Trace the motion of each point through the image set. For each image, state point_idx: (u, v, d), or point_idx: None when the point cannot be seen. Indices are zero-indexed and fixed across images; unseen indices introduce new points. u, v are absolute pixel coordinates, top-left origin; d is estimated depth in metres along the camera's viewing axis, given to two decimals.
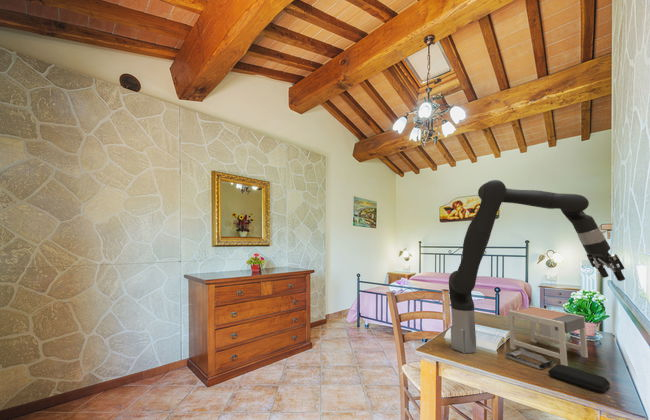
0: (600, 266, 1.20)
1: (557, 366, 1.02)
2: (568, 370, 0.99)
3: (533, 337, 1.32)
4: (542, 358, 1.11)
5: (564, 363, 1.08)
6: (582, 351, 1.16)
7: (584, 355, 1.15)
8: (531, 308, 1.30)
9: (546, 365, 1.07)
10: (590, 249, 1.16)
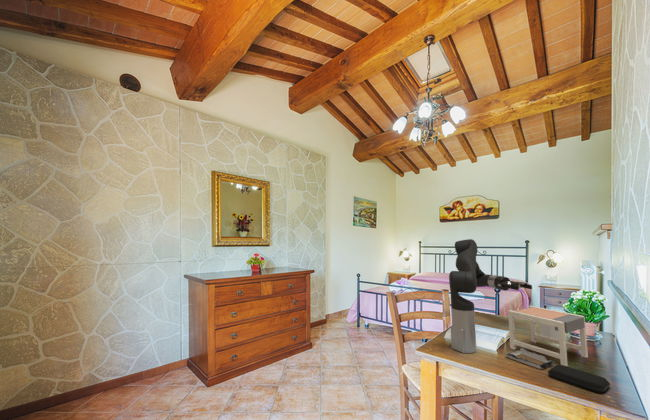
0: None
1: (557, 366, 1.02)
2: (568, 370, 0.99)
3: (533, 337, 1.32)
4: (543, 358, 1.12)
5: (564, 363, 1.08)
6: (582, 351, 1.16)
7: (584, 355, 1.15)
8: (531, 308, 1.30)
9: (547, 365, 1.07)
10: None
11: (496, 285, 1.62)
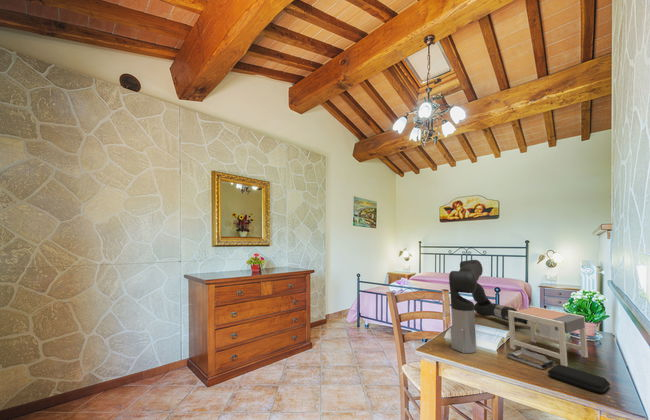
0: None
1: (557, 366, 1.02)
2: (568, 371, 0.98)
3: (533, 337, 1.32)
4: (544, 358, 1.12)
5: (564, 363, 1.08)
6: (582, 351, 1.16)
7: (584, 355, 1.15)
8: (531, 308, 1.30)
9: (548, 365, 1.07)
10: None
11: (503, 316, 1.57)
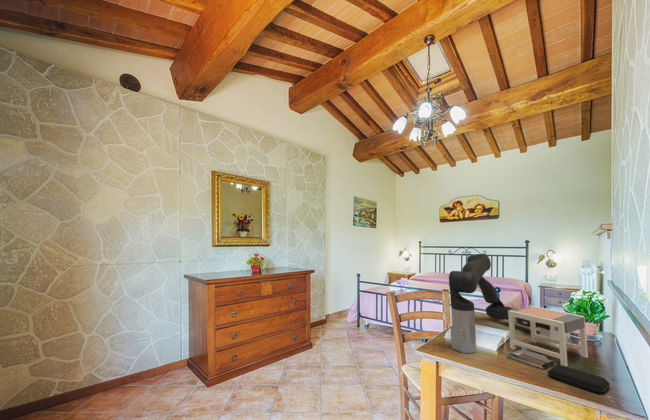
0: None
1: (557, 367, 1.02)
2: (568, 371, 0.98)
3: (533, 337, 1.32)
4: (544, 358, 1.12)
5: (564, 363, 1.08)
6: (582, 351, 1.16)
7: (584, 355, 1.15)
8: (531, 308, 1.30)
9: (549, 365, 1.07)
10: None
11: (519, 321, 1.48)
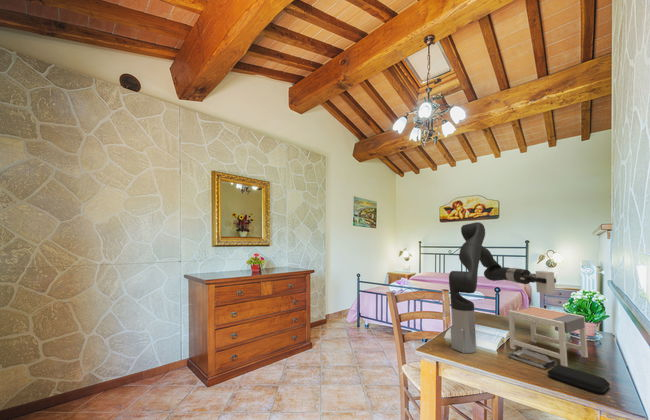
0: None
1: (557, 367, 1.02)
2: (568, 371, 0.98)
3: (533, 337, 1.32)
4: (545, 357, 1.12)
5: (564, 363, 1.08)
6: (582, 351, 1.16)
7: (584, 355, 1.15)
8: (531, 308, 1.30)
9: (550, 364, 1.07)
10: None
11: (516, 278, 1.50)
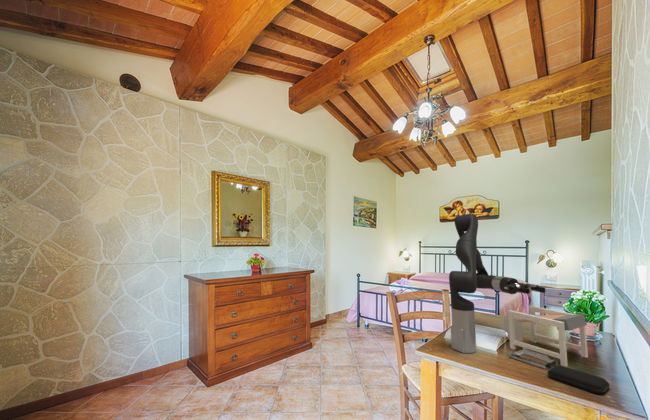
0: None
1: (556, 367, 1.01)
2: (568, 371, 0.98)
3: (533, 337, 1.32)
4: (546, 357, 1.12)
5: (564, 363, 1.08)
6: (582, 351, 1.16)
7: (584, 355, 1.15)
8: None
9: (551, 364, 1.08)
10: None
11: (502, 288, 1.37)
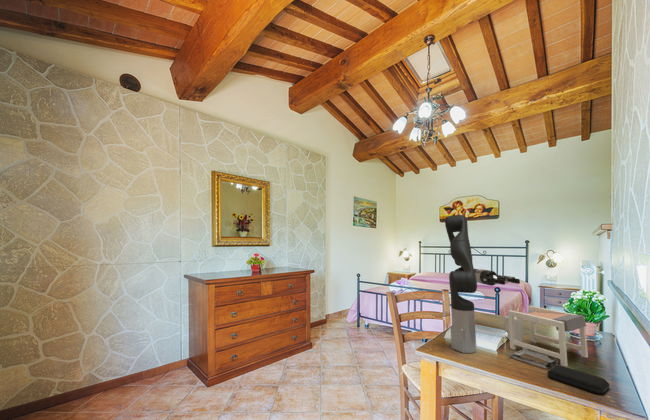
0: None
1: (556, 367, 1.01)
2: (568, 371, 0.98)
3: (533, 337, 1.32)
4: (546, 357, 1.12)
5: (564, 363, 1.08)
6: (582, 351, 1.16)
7: (584, 355, 1.15)
8: (532, 313, 1.29)
9: (552, 364, 1.08)
10: None
11: (482, 280, 1.49)
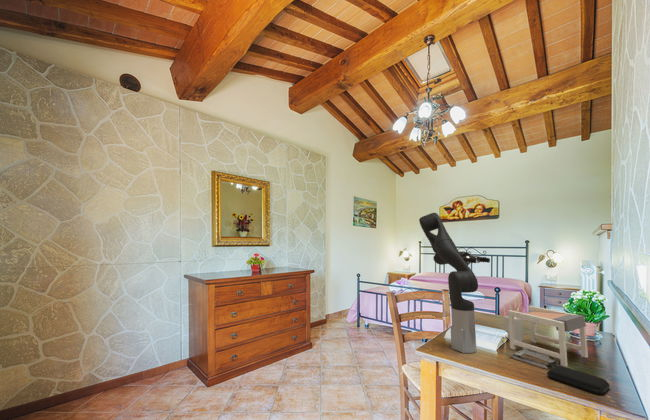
0: None
1: (556, 367, 1.01)
2: (568, 372, 0.98)
3: (533, 337, 1.32)
4: (547, 357, 1.12)
5: (564, 363, 1.08)
6: (582, 351, 1.16)
7: (584, 355, 1.15)
8: (532, 312, 1.29)
9: (552, 364, 1.08)
10: None
11: None
